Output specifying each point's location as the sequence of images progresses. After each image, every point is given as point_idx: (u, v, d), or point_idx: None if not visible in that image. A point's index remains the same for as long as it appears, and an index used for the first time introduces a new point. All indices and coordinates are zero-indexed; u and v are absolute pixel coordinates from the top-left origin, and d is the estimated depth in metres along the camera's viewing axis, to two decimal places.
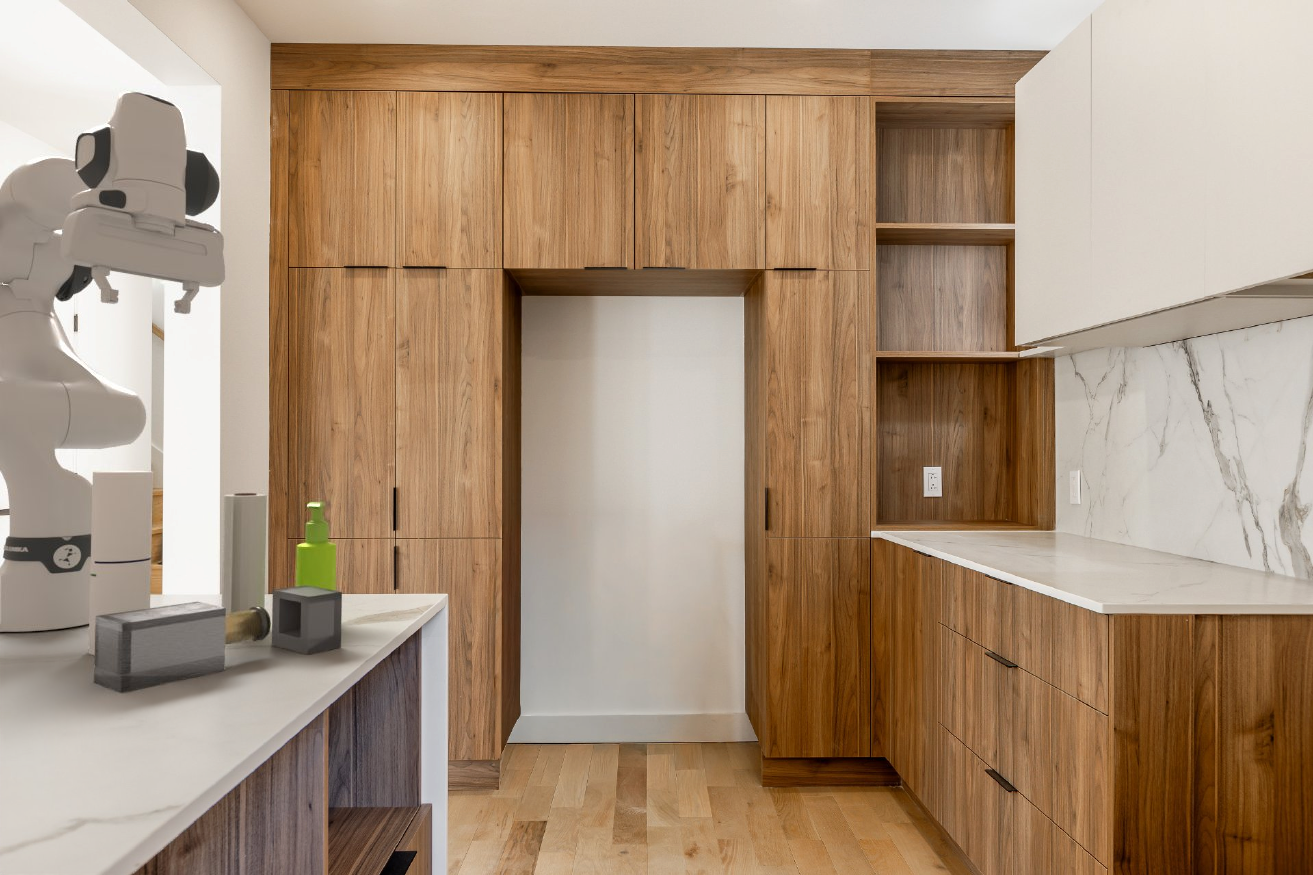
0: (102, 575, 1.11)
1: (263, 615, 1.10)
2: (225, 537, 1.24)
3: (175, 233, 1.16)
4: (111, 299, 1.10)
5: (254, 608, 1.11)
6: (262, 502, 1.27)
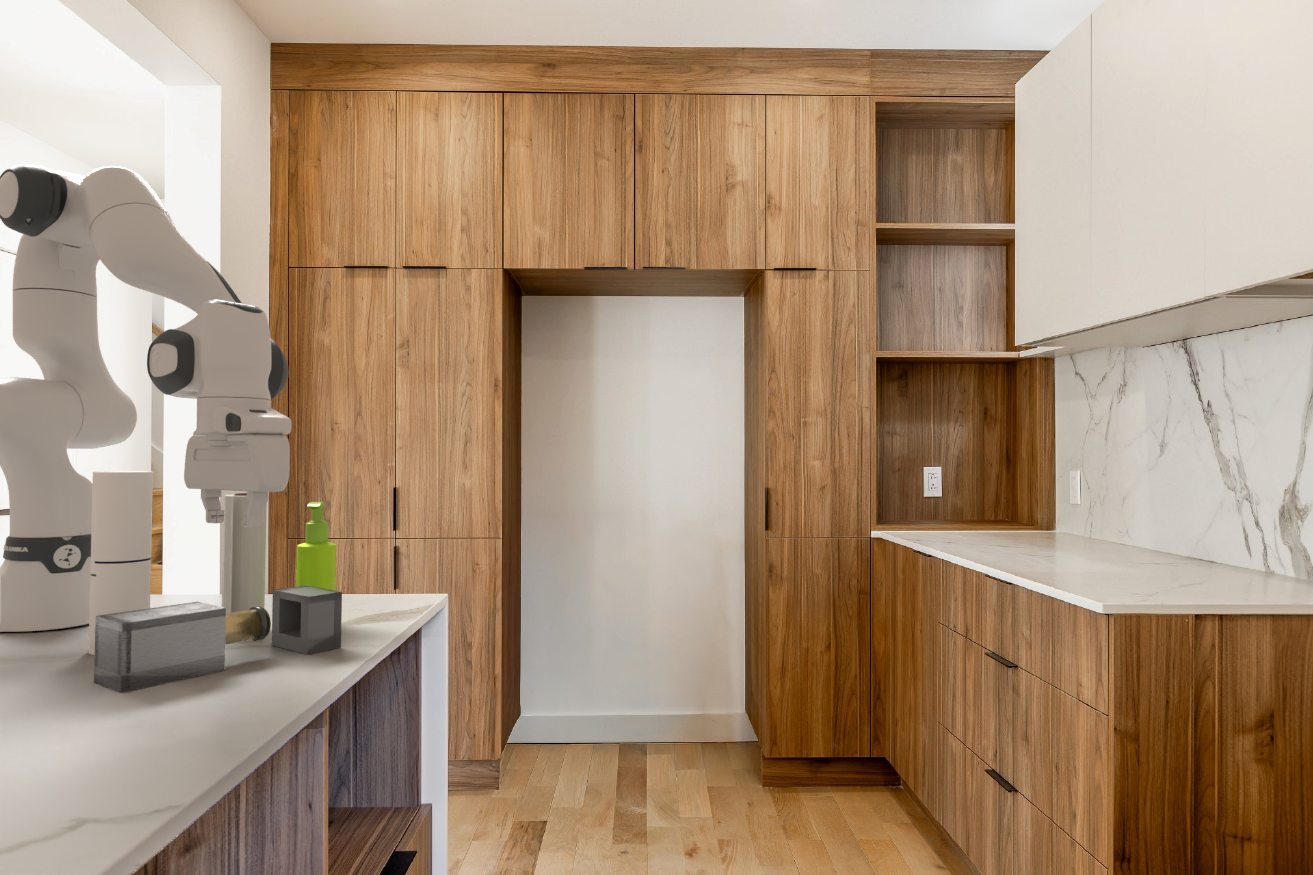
0: (102, 575, 1.11)
1: (263, 615, 1.10)
2: (225, 537, 1.24)
3: None
4: None
5: (254, 608, 1.11)
6: None
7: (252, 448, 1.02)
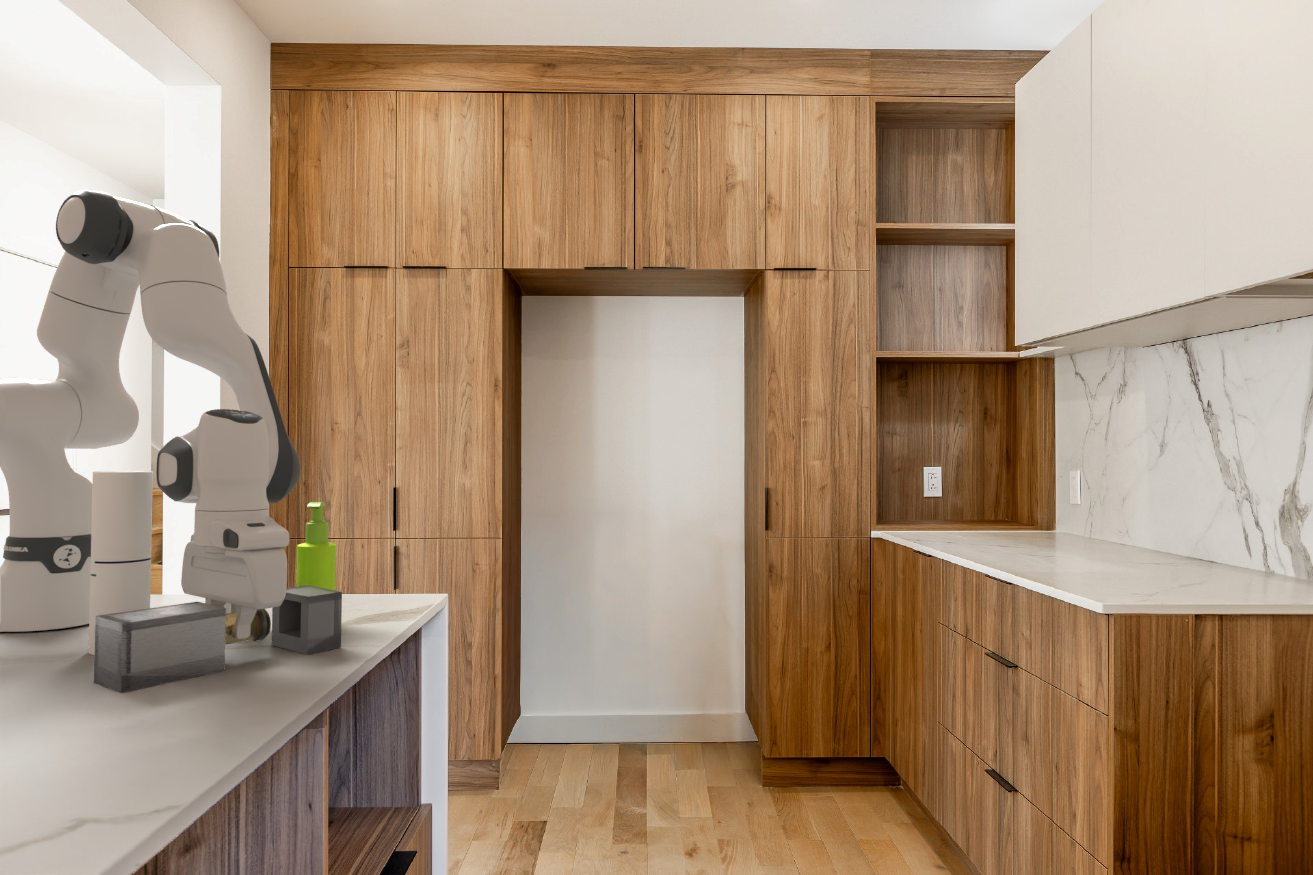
0: (102, 575, 1.11)
1: (263, 615, 1.10)
2: None
3: None
4: None
5: None
6: None
7: (249, 566, 1.02)
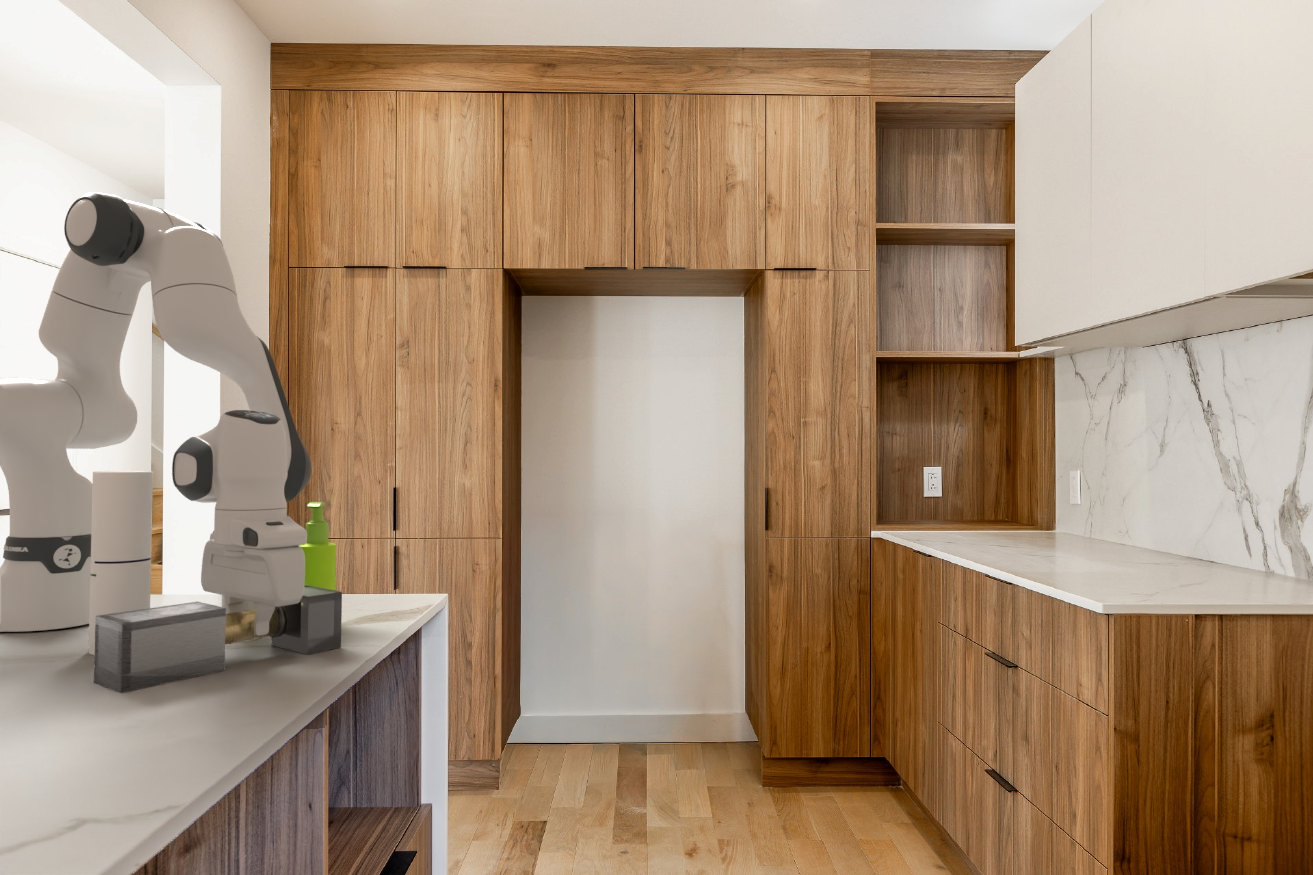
0: (102, 575, 1.11)
1: (281, 612, 1.13)
2: None
3: None
4: None
5: None
6: None
7: (268, 564, 1.04)
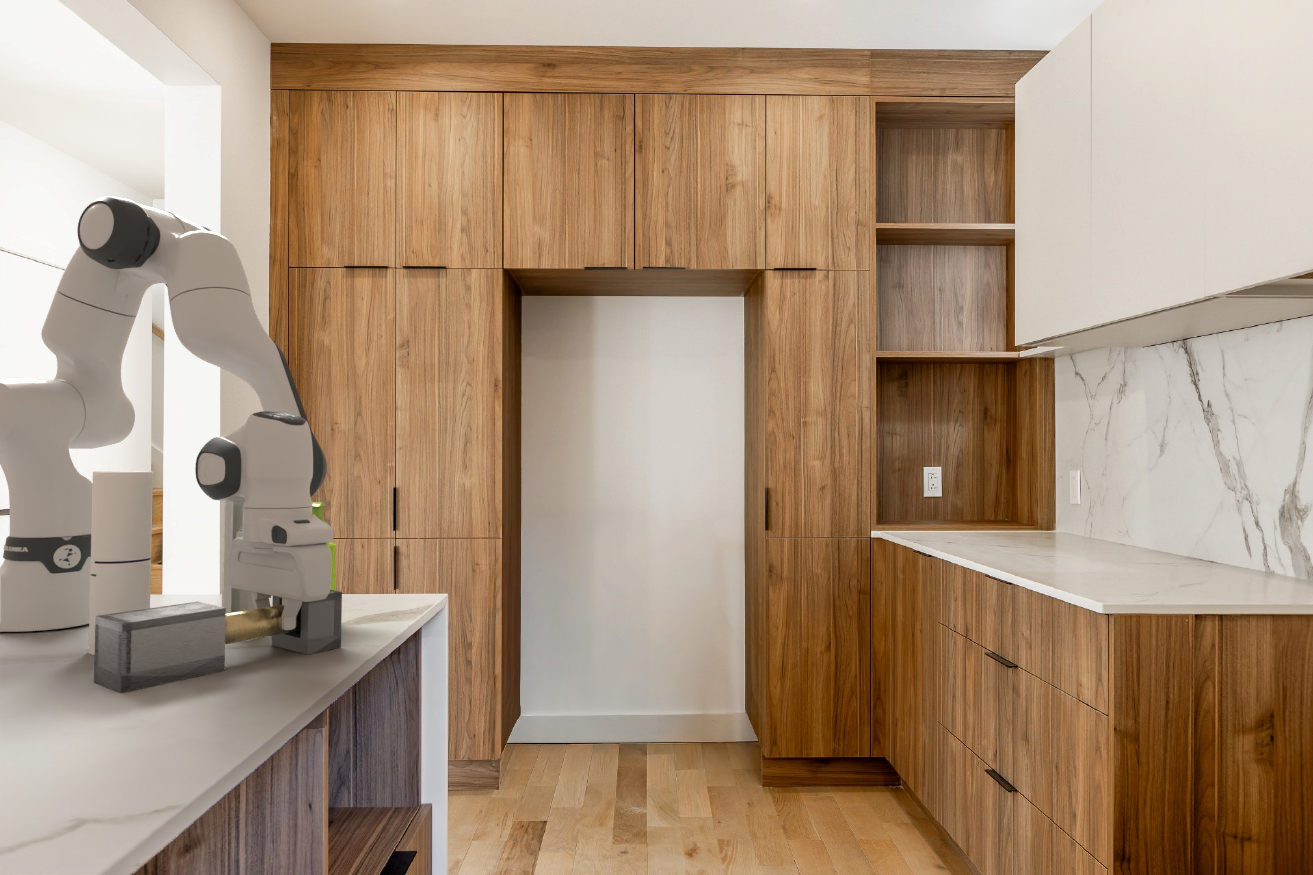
0: (102, 575, 1.11)
1: None
2: (225, 537, 1.24)
3: None
4: None
5: None
6: None
7: (297, 561, 1.07)
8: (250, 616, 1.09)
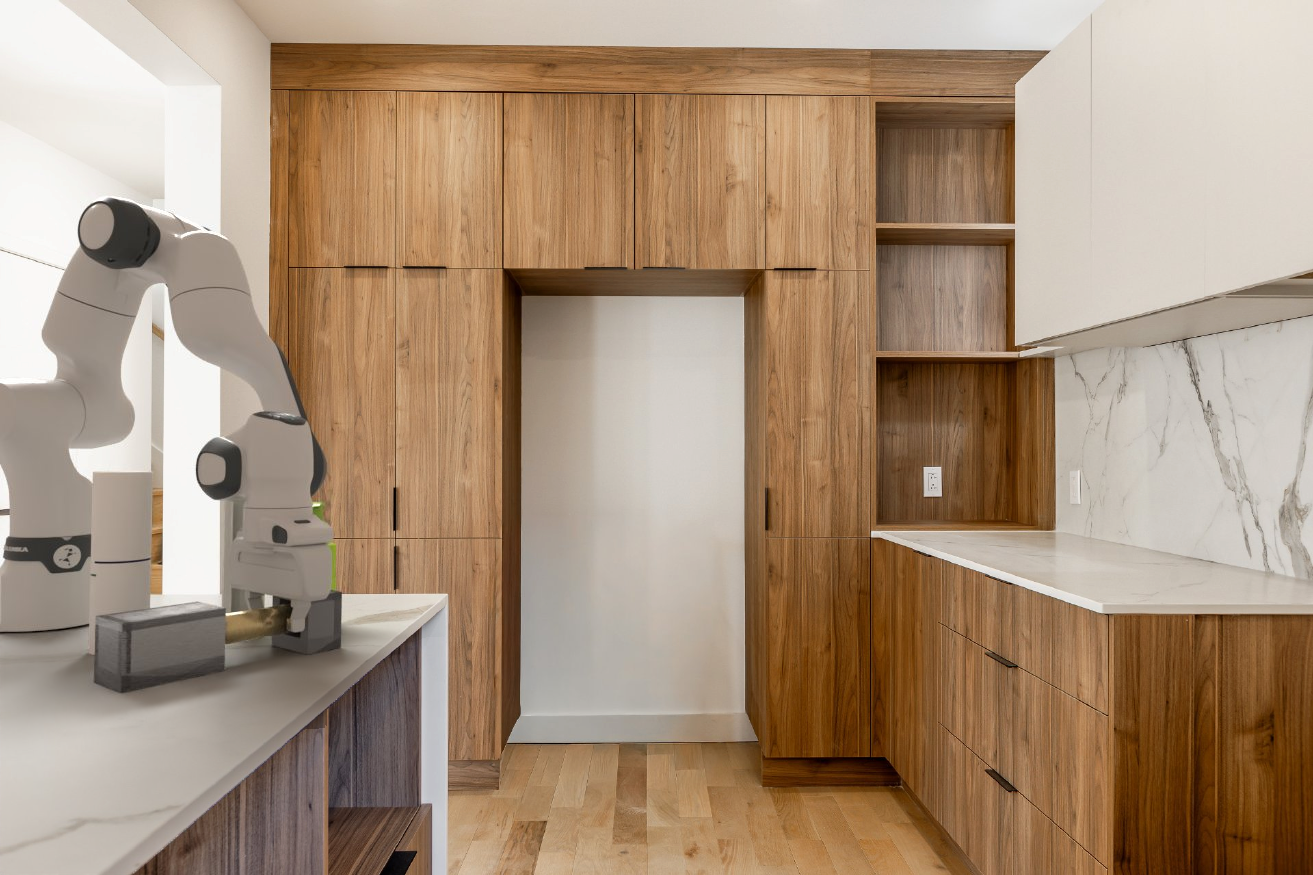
0: (102, 575, 1.11)
1: None
2: (225, 537, 1.24)
3: None
4: None
5: None
6: None
7: (298, 561, 1.07)
8: (251, 616, 1.09)
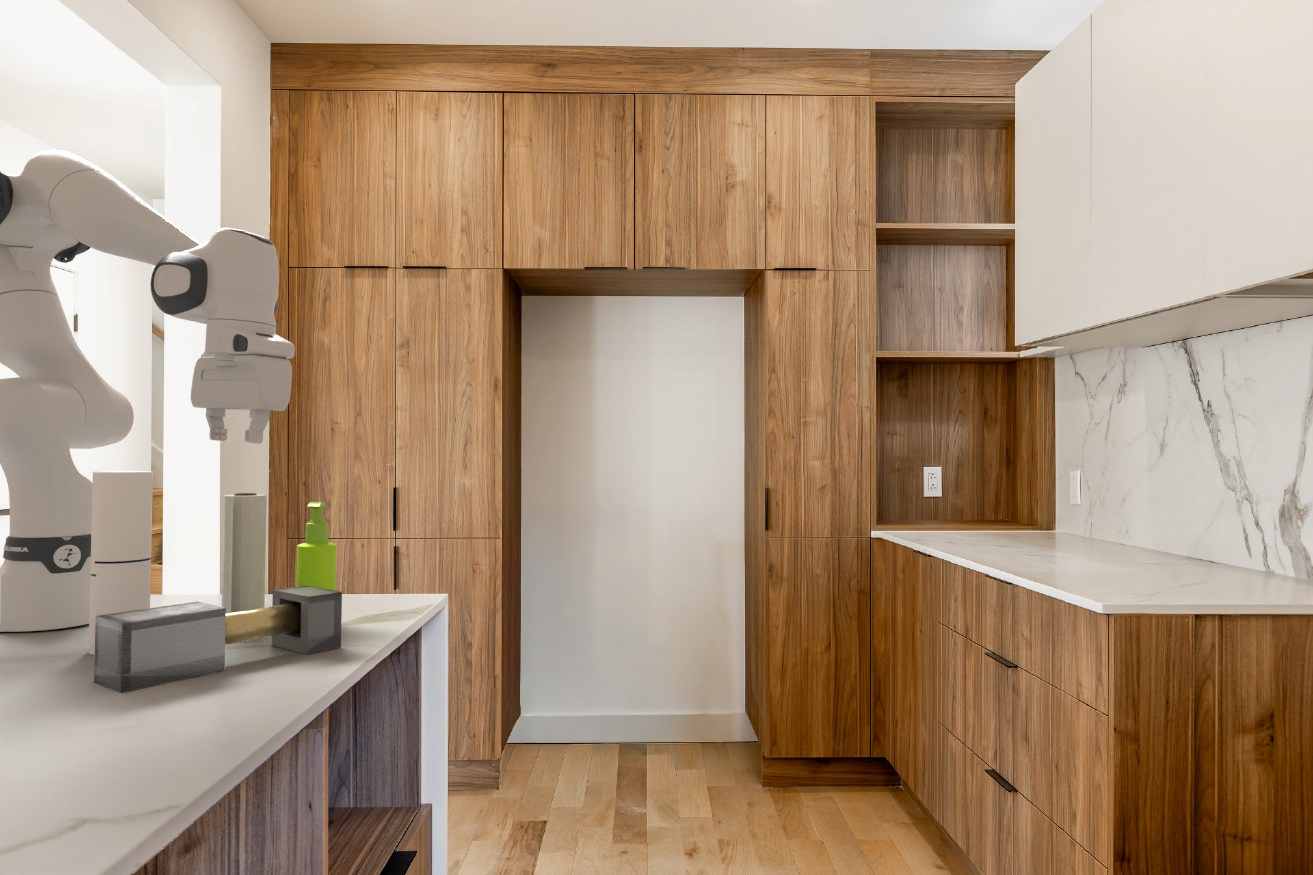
0: (102, 575, 1.11)
1: None
2: (225, 537, 1.24)
3: None
4: None
5: None
6: (262, 502, 1.27)
7: (257, 368, 1.09)
8: (251, 616, 1.09)
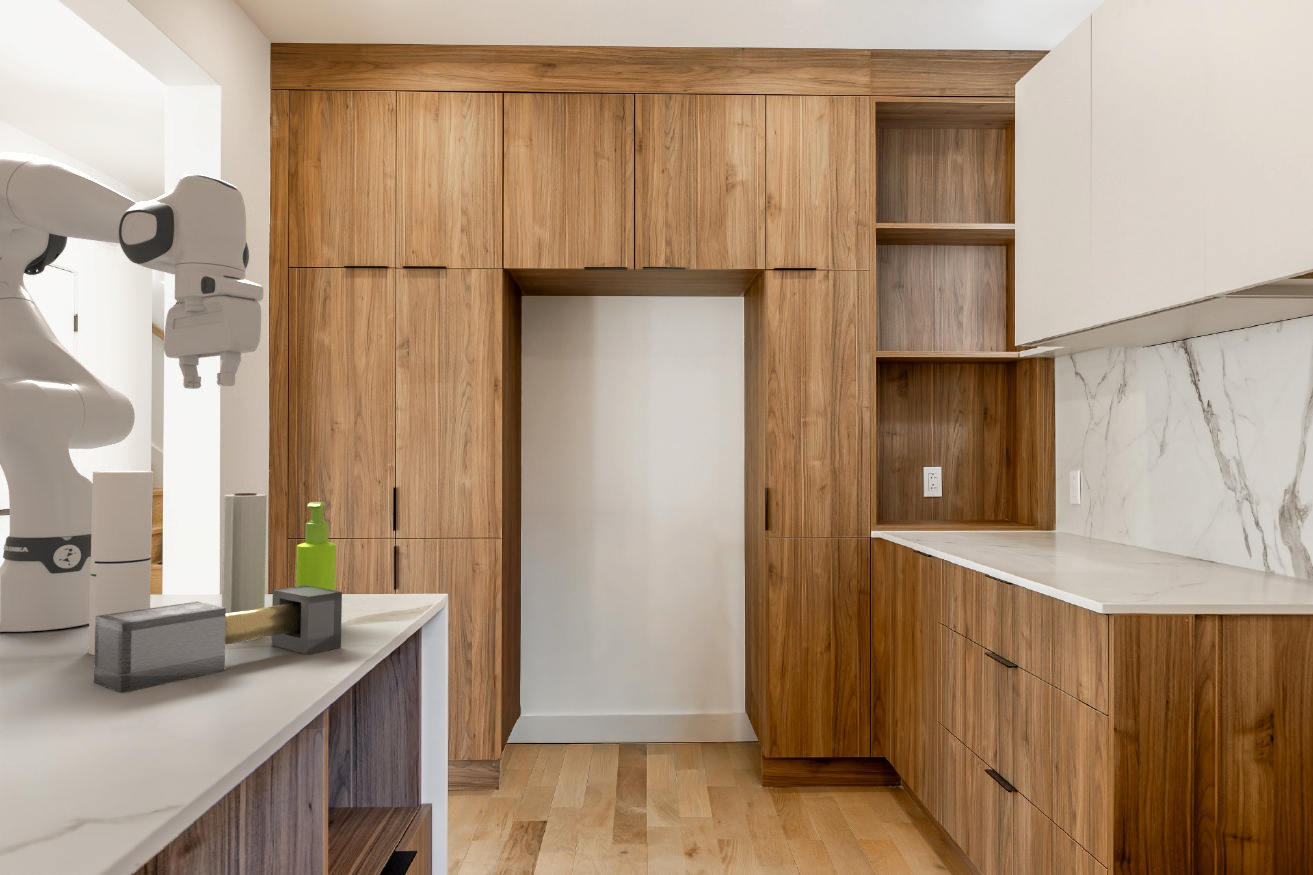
0: (102, 575, 1.11)
1: None
2: (225, 537, 1.24)
3: None
4: None
5: None
6: (262, 502, 1.27)
7: (225, 308, 1.09)
8: (251, 616, 1.09)
